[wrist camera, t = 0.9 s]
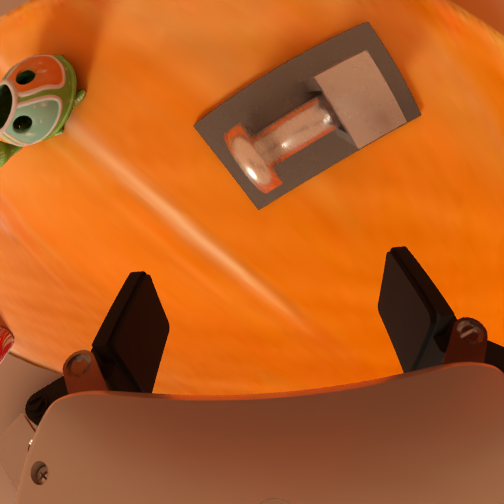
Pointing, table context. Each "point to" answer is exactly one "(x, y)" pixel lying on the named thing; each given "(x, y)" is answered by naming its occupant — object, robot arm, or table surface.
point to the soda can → (5, 343)
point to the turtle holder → (35, 101)
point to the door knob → (279, 141)
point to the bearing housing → (308, 87)
